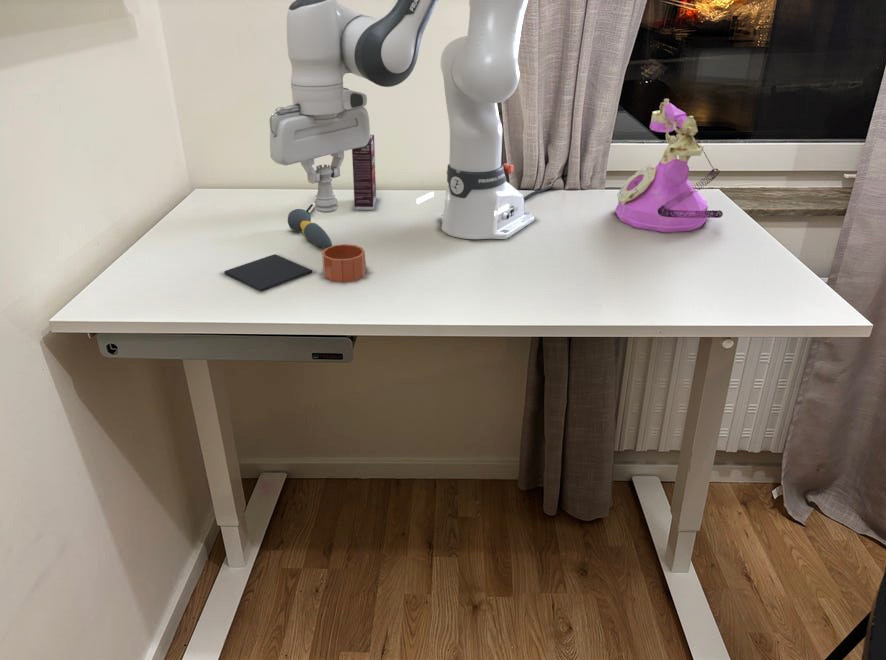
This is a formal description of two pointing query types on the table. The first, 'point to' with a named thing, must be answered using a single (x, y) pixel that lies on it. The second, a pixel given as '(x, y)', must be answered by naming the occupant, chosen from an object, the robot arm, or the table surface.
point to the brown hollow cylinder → (344, 263)
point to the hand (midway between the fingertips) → (324, 179)
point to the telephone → (667, 181)
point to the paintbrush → (308, 228)
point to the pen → (311, 208)
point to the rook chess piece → (325, 191)
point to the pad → (267, 272)
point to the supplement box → (364, 176)
